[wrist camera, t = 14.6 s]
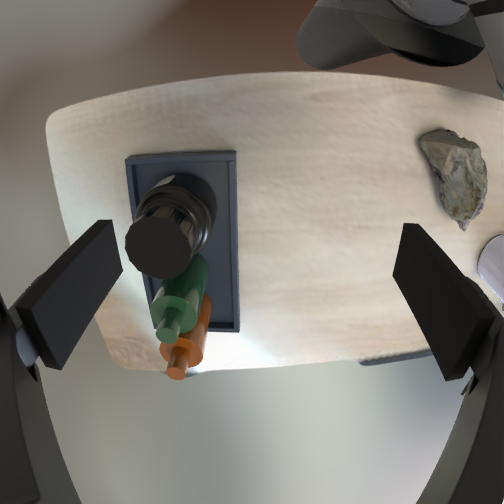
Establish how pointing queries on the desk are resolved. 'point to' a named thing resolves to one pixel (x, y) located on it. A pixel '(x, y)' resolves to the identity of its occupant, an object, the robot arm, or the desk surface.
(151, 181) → the tray
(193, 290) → the green bottle
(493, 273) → the soap bottle
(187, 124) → the desk surface
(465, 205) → the mineral rock
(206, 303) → the amber bottle
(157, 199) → the ink bottle
